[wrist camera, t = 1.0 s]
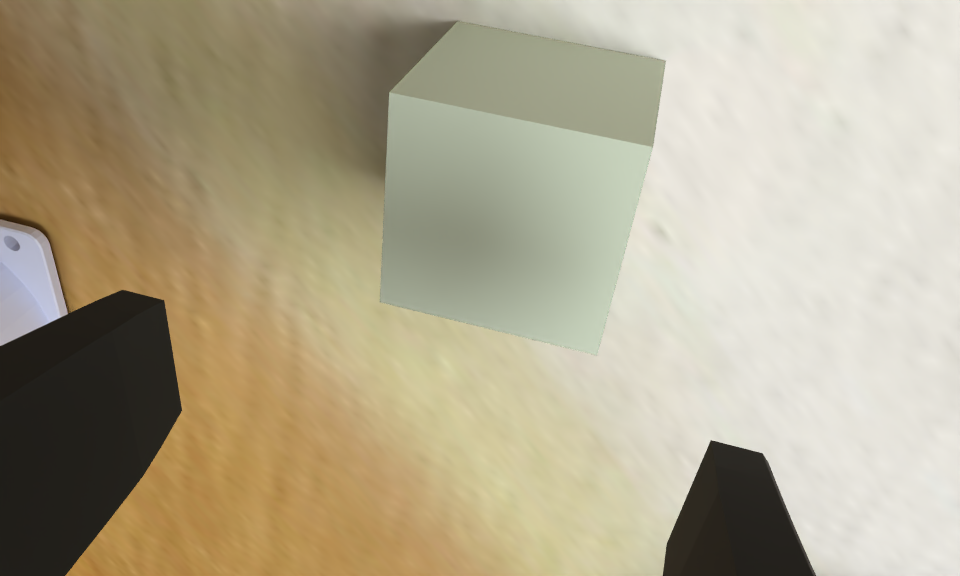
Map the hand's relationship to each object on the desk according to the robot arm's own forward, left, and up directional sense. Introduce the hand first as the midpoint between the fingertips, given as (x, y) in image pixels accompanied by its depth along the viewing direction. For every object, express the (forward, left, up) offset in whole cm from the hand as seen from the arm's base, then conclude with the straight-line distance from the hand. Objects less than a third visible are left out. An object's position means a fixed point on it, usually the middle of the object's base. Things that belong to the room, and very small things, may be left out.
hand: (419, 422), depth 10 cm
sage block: (0, 0, -10) cm, 10 cm away
